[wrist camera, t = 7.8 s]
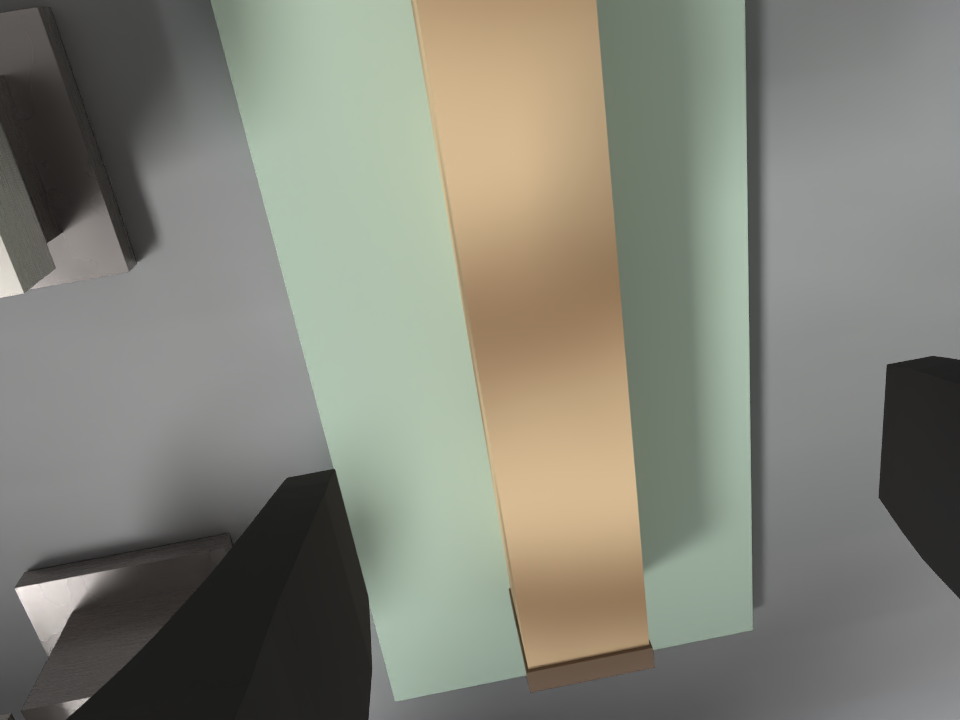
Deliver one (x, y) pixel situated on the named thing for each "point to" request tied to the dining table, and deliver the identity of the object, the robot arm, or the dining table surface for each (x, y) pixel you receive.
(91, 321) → the dining table surface
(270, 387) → the dining table surface
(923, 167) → the dining table surface
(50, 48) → the standards
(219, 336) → the dining table surface
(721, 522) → the mat
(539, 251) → the rail
